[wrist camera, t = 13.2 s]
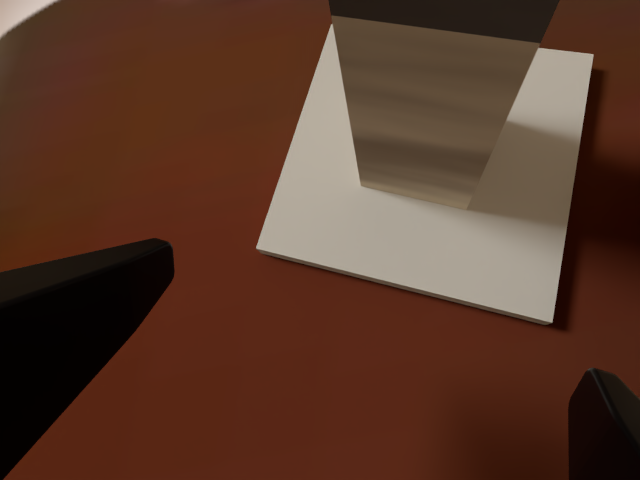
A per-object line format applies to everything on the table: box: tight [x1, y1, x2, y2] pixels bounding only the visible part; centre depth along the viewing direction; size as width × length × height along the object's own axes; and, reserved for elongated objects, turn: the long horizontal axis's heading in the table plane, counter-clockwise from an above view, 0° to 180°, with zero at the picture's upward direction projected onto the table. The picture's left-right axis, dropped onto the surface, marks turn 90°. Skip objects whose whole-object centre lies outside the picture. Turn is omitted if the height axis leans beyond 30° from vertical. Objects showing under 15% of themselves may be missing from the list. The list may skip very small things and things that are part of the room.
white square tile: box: [256, 24, 594, 325], centre depth 19 cm, size 12×12×1 cm
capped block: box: [329, 0, 559, 210], centre depth 13 cm, size 4×4×12 cm
